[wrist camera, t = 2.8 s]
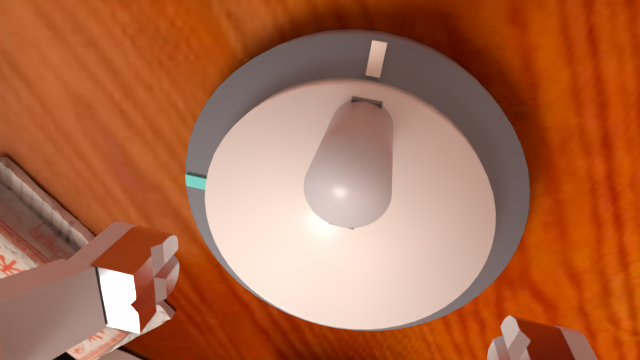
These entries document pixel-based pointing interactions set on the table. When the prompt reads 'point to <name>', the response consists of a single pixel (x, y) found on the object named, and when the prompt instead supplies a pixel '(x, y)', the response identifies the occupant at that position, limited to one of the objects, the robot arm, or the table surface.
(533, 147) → the table surface
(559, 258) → the table surface
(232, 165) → the dial
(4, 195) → the packaged product
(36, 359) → the robot arm
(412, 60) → the dial board
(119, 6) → the table surface
